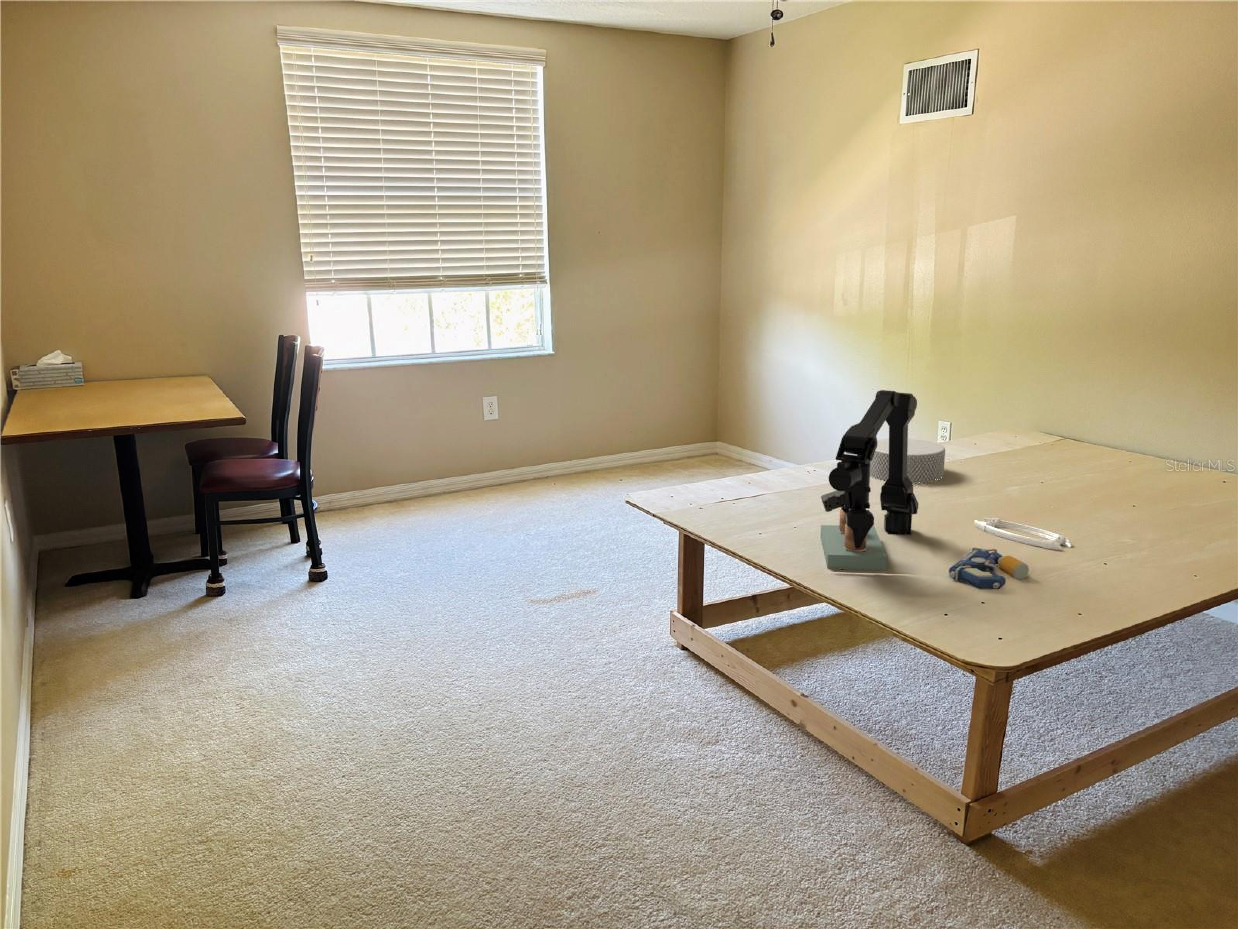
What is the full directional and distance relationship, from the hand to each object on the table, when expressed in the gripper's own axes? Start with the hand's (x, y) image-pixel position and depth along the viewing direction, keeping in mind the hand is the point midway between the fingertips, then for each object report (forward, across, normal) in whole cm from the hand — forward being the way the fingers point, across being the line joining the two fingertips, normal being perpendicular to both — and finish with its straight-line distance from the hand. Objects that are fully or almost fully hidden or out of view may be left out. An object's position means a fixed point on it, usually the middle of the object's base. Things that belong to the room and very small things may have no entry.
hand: (855, 541), depth 208 cm
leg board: (+6, -6, 0) cm, 9 cm away
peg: (+5, 0, 0) cm, 5 cm away
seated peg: (+5, -13, 0) cm, 14 cm away
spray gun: (+6, +5, +31) cm, 32 cm away
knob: (+6, -88, +26) cm, 92 cm away
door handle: (+6, -24, +46) cm, 52 cm away
